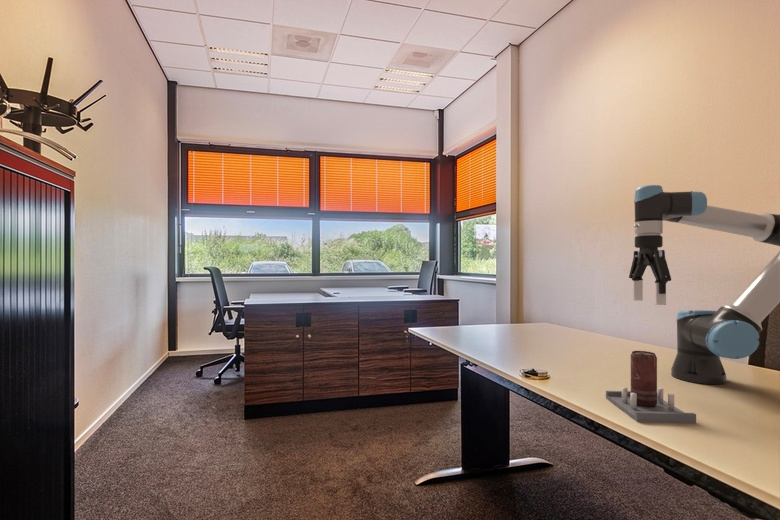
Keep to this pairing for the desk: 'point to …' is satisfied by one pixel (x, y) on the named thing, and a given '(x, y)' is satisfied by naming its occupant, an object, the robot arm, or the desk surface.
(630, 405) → the tray
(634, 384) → the can
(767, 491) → the desk surface
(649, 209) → the robot arm
